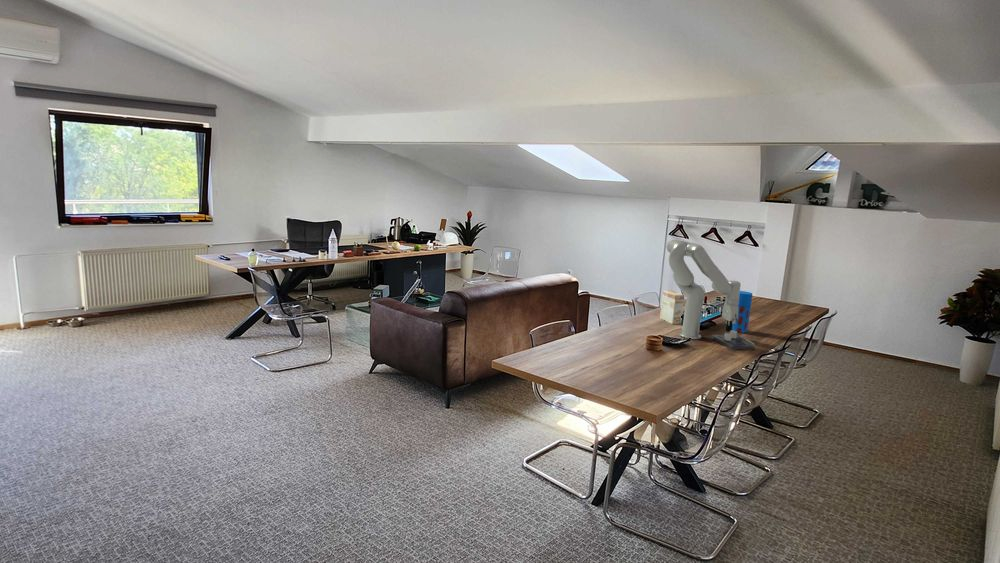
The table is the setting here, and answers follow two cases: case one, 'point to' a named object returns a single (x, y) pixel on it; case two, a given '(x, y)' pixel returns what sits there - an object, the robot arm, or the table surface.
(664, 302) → the coffeecake box
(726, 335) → the fader near
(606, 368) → the table surface
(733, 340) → the console
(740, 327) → the thermos
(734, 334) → the fader far
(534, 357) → the table surface
